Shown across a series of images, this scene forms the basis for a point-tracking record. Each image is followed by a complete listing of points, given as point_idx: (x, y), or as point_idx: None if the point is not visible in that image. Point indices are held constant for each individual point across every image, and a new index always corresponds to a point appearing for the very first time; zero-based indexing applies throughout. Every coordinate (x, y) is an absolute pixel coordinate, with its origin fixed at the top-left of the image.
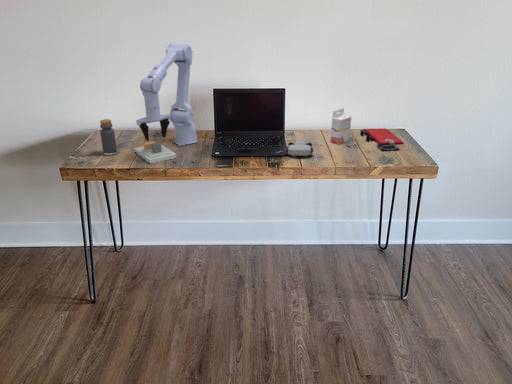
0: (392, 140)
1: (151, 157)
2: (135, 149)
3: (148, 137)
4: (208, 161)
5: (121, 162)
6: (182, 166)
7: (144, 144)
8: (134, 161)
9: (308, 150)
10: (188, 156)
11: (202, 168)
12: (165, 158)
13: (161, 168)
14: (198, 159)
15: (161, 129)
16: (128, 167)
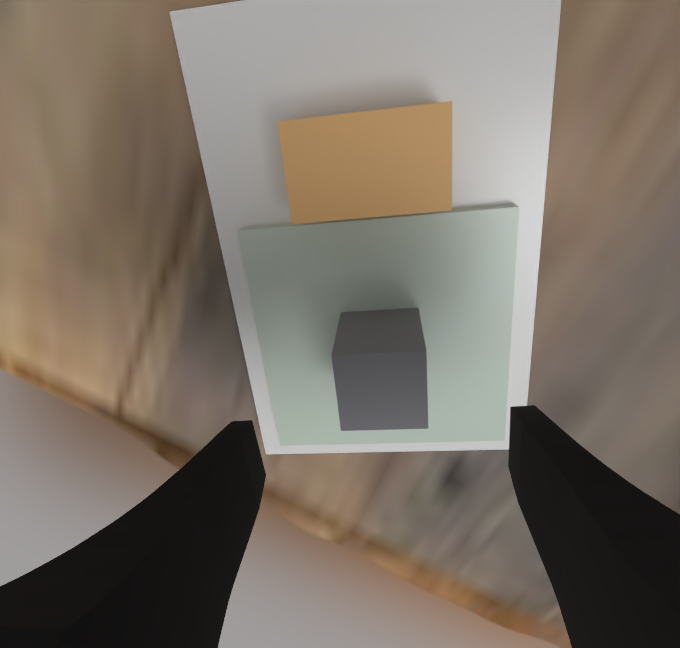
0: None
1: (286, 444)
2: (188, 90)
3: (247, 526)
4: None
5: (56, 267)
6: (465, 558)
7: (284, 163)
8: (167, 304)
9: None
10: (624, 432)
11: (554, 632)
12: None
13: (327, 520)
14: None
15: (558, 479)
16: (111, 397)
